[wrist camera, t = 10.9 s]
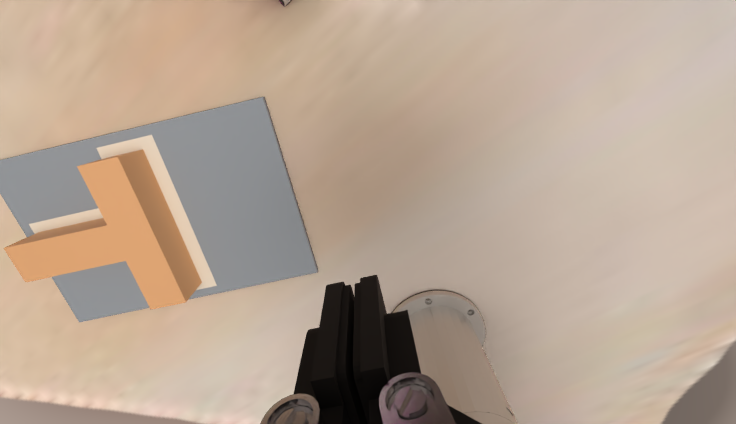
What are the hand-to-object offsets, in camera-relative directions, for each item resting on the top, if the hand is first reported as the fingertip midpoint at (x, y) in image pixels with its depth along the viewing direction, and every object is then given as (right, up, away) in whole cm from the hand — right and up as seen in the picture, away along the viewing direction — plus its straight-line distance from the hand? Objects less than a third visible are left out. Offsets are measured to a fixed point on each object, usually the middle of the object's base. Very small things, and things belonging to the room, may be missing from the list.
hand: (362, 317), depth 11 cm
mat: (-23, +3, +27) cm, 36 cm away
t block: (-28, +1, +27) cm, 39 cm away
